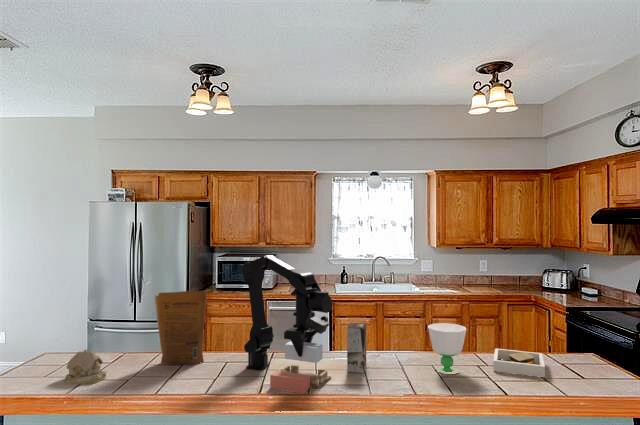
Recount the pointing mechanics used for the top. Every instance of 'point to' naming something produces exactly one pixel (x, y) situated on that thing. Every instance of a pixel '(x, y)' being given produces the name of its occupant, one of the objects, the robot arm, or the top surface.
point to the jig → (311, 375)
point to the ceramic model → (85, 368)
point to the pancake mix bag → (181, 326)
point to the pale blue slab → (305, 352)
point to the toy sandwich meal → (521, 358)
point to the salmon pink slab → (290, 381)
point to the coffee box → (356, 347)
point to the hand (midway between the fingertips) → (303, 354)
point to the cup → (447, 342)
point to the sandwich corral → (518, 367)
